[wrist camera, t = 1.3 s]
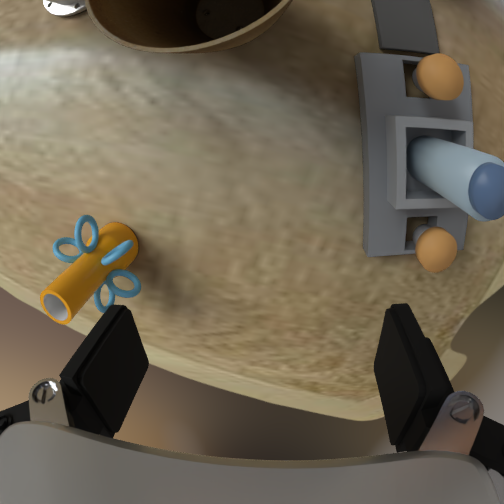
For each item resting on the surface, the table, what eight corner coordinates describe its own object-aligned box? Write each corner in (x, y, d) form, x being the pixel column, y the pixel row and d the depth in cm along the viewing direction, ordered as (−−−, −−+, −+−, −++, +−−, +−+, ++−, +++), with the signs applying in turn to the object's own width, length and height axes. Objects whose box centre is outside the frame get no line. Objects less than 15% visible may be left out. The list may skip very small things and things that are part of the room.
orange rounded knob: (407, 217, 30) (423, 233, 26) (441, 216, 30) (460, 231, 26) (404, 254, 32) (418, 274, 28) (437, 252, 31) (453, 270, 28)
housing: (354, 56, 26) (367, 47, 21) (457, 66, 25) (482, 63, 20) (362, 247, 36) (374, 269, 31) (454, 241, 34) (474, 260, 29)
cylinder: (173, 232, 37) (118, 302, 24) (147, 292, 42) (99, 368, 28) (93, 187, 35) (14, 234, 22) (76, 250, 40) (12, 309, 26)
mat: (369, -6, 22) (372, -9, 22) (425, 2, 22) (429, -1, 21) (379, 48, 25) (382, 47, 25) (435, 55, 25) (439, 54, 24)
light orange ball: (402, 56, 23) (420, 50, 19) (440, 61, 22) (461, 57, 18) (407, 98, 25) (425, 98, 21) (443, 101, 24) (465, 102, 20)
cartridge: (403, 134, 27) (472, 156, 15) (444, 136, 26) (521, 160, 15) (404, 181, 29) (466, 227, 18) (443, 181, 29) (513, 225, 17)
